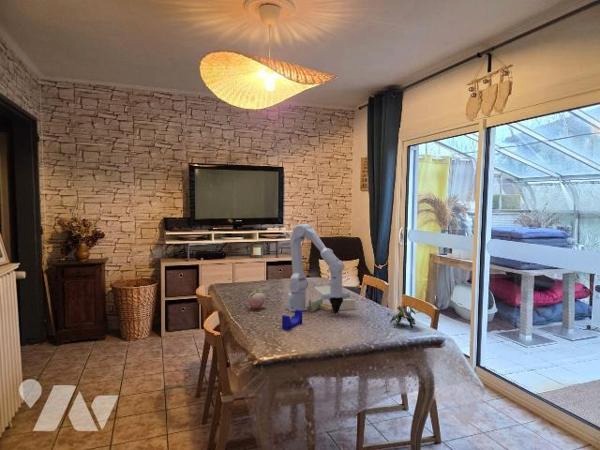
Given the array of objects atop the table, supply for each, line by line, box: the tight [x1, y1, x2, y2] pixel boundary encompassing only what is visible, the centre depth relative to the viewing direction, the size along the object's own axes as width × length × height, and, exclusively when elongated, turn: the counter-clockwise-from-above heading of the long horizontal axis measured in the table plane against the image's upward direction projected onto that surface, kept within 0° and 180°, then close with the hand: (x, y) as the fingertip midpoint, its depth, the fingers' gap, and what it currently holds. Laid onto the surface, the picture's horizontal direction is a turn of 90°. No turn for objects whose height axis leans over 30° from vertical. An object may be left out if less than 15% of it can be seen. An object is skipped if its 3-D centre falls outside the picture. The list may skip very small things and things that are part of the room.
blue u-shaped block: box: [281, 310, 303, 331], centre depth 171 cm, size 12×4×6 cm, turn 148°
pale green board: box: [308, 298, 356, 314], centre depth 196 cm, size 25×1×6 cm, turn 108°
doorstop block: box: [318, 303, 334, 314], centre depth 197 cm, size 4×10×2 cm, turn 30°
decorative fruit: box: [247, 289, 267, 310], centre depth 198 cm, size 9×8×10 cm
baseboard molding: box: [312, 283, 347, 300], centre depth 235 cm, size 31×3×12 cm
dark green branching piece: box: [386, 305, 416, 328], centre depth 171 cm, size 11×11×12 cm
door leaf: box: [311, 296, 324, 312], centre depth 199 cm, size 12×2×4 cm, turn 154°
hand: (335, 312), depth 189 cm, fingers closed
